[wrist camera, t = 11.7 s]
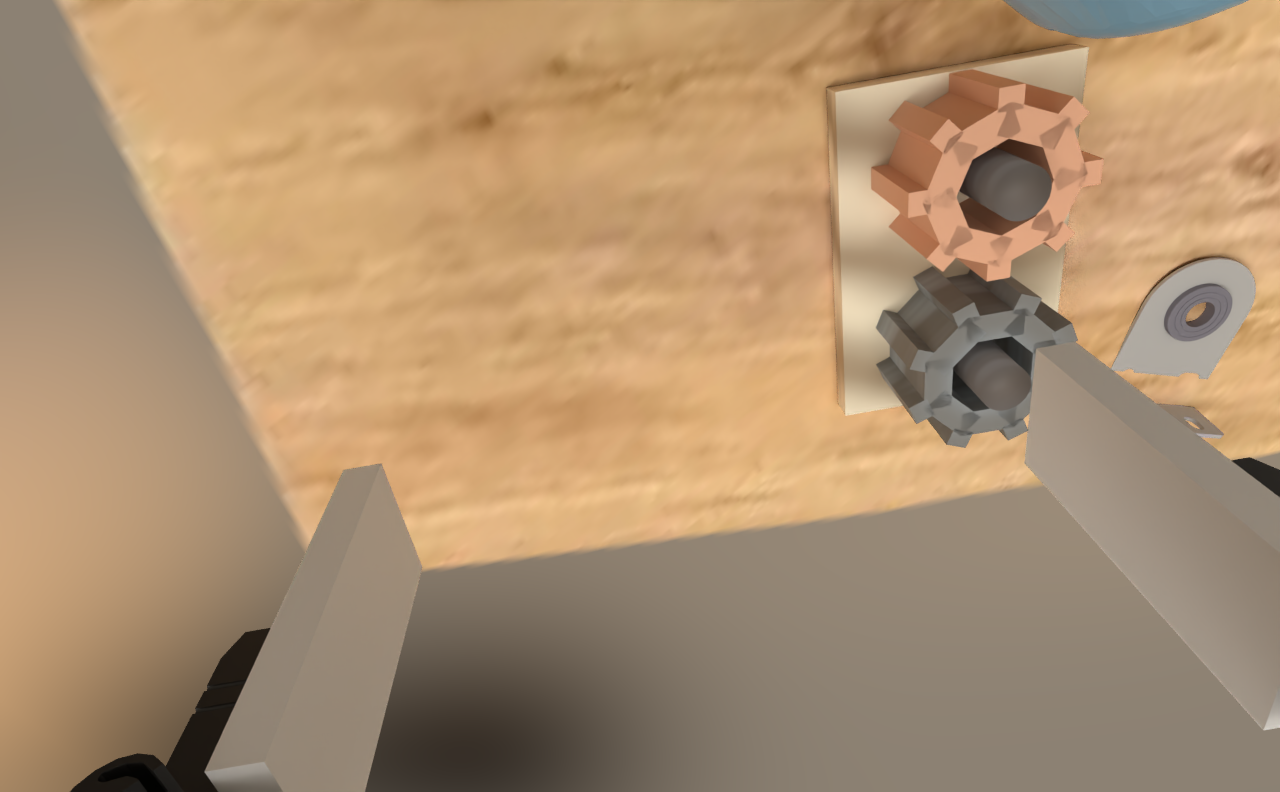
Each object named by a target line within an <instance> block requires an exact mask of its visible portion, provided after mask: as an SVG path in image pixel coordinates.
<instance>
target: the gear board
mask: <svg viewBox="0 0 1280 792" xmlns="http://www.w3.org/2000/svg"><path fill="white" fill-rule="evenodd" d="M1088 51H1089V47H1086V46H1080V45H1074V44H1069V45H1063V46H1058V47H1052V48H1046V49H1041V50H1035V51H1030V52H1024V53H1018V54H1013V55H1007V56H1001V57H996V58H990V59H985V60H979V61H973V62H968V63H962V64H957V65H951V66H945V67H940V68H934V69H929V70H923V71H917V72H912V73H906V74H901V75H895V76H889V77H884V78H878V79H873V80H867V81H861V82H856V83H850V84H844V85H839V86H833V87H828V88H827V116H828V143H829V170H830V198H831V225H832V252H833V280H834V307H835V334H836V362H837V389H838V404H839V405H840V407H841V409H842V411H843V412H844V414H845V416H846V415H852V414H858V413H864V412H870V411H876V410H881V409H887V408H893V407H899V406H904V407H905V409H906V410H907V411H908V413H909V414H910V415H911V417H912V418H913V420H914V421H915V422H916V424H917V423H919V422H921V421H923V420H925V419H927V420H928V421H929V422H930V424H931V425H932V426H933V427H934V429H935V430H936V431H937V433H938V434H939V435H940V437H941V438H942V439H943V440H944V442H945V443H946V444H947V445H952V446H958V447H964V448H966V446H967V444H968V442H969V440H970V438H971V436H972V434H977V433H983V432H989V431H995V430H999V431H1000V432H1001V433H1002V434H1003V435H1004V436H1005V437H1006V439H1007V440H1010V439H1012V438H1014V437H1016V436H1018V435H1020V434H1022V433H1024V432H1026V431H1028V429H1027V427H1026V424H1025V422H1024V420H1023V419H1024V418H1025V417H1026V416H1027V415H1028V414H1029V413H1030V404H1031V395H1032V385H1033V375H1034V365H1035V355H1036V349H1037V348H1042V347H1048V346H1054V345H1059V344H1065V343H1071V342H1076V341H1078V339H1077V336H1076V334H1075V331H1074V328H1073V325H1072V323H1071V322H1070V321H1068V320H1067V319H1065V318H1064V317H1063V316H1061V315H1060V314H1059V313H1058V306H1059V298H1060V289H1061V281H1062V272H1063V263H1064V255H1065V246H1066V243H1065V244H1064V245H1063V246H1062V247H1061V248H1060V249H1059V250H1058V251H1057V252H1056V251H1054V250H1053V249H1051V248H1049V247H1048V246H1046V245H1044V244H1043V243H1042V244H1040V245H1038V246H1037V247H1035V248H1033V249H1031V250H1029V251H1027V252H1026V253H1024V254H1022V255H1020V256H1018V257H1017V258H1015V259H1013V260H1011V272H1010V278H1004V279H998V280H992V281H985V280H984V279H983V278H982V277H980V276H979V275H978V274H976V273H975V272H974V271H973V270H971V269H970V268H969V267H967V266H966V265H965V264H964V263H962V262H961V261H960V260H958V259H957V258H955V259H954V260H953V261H952V262H951V264H950V265H949V266H948V267H947V268H946V269H945V270H944V271H943V272H942V271H941V270H940V269H939V268H937V267H936V266H935V265H934V264H932V263H931V262H930V261H929V260H927V259H926V258H925V257H924V256H923V255H921V254H920V253H919V252H918V251H917V250H915V249H914V248H913V247H912V246H911V245H910V244H908V243H907V242H906V241H905V240H904V239H902V238H901V237H900V236H899V235H898V234H897V233H895V232H894V231H893V230H892V229H891V228H889V226H890V224H891V223H892V222H893V221H894V220H895V219H896V217H897V216H898V215H899V214H900V212H899V210H898V209H896V208H895V207H894V206H892V205H891V204H890V203H888V202H887V201H886V200H885V199H883V198H882V197H881V196H879V195H878V194H877V193H875V192H874V191H873V190H872V189H871V167H876V166H881V165H887V164H888V163H889V160H890V158H891V155H892V153H893V150H894V147H895V145H896V142H897V139H898V137H899V134H900V132H901V131H900V130H899V129H898V128H897V127H896V126H894V125H893V124H892V123H891V122H890V121H889V119H890V118H891V117H892V115H893V114H894V113H895V112H896V111H897V109H898V108H899V107H900V106H901V104H902V103H903V102H904V101H907V102H909V103H912V104H914V105H916V106H919V107H921V108H923V107H925V106H927V105H928V104H930V103H932V102H933V101H935V100H937V99H938V98H940V97H942V96H943V95H945V94H946V93H948V92H949V73H954V72H959V71H965V70H971V69H974V70H977V71H981V72H985V73H989V74H992V75H996V76H1000V77H1003V78H1007V79H1011V80H1015V81H1018V82H1022V83H1026V84H1029V85H1033V86H1036V87H1040V88H1044V89H1048V90H1051V91H1055V92H1059V93H1063V94H1066V95H1070V96H1074V97H1075V98H1076V99H1077V100H1078V101H1079V102H1080V103H1081V104H1082V102H1083V93H1084V85H1085V76H1086V68H1087V59H1088ZM1079 127H1080V124H1079V125H1078V126H1077V127H1076V128H1075V129H1074V130H1075V133H1076V136H1077V140H1078V136H1079ZM1051 189H1052V182H1051V178H1050V176H1049V174H1048V172H1047V171H1046V170H1045V169H1044V168H1042V167H1040V166H1038V165H1036V164H1033V163H1031V162H1029V161H1026V160H1024V159H1022V158H1020V157H1017V156H1015V155H1013V154H1010V153H1008V152H1006V151H1004V150H1001V149H999V148H997V146H995V147H993V148H992V149H990V150H988V151H987V152H985V153H983V154H981V155H980V156H978V157H976V158H975V159H973V160H972V162H971V164H970V167H969V169H968V171H967V174H966V176H965V178H964V181H963V183H962V185H961V188H960V190H959V192H958V195H957V200H958V202H959V203H961V202H963V201H964V200H966V199H968V198H971V199H973V200H975V201H976V202H978V203H980V204H981V205H983V206H985V207H986V208H988V209H990V210H991V211H993V212H995V213H997V214H998V215H1000V216H1002V217H1003V218H1005V219H1007V220H1010V221H1023V220H1026V219H1029V218H1031V217H1033V216H1034V215H1036V214H1037V213H1038V212H1039V211H1040V210H1042V208H1043V207H1044V206H1045V204H1046V203H1047V201H1048V199H1049V197H1050V194H1051ZM1069 212H1070V211H1069ZM1068 221H1069V213H1068V215H1067V217H1066V219H1065V221H1064V223H1065V224H1066V225H1067V226H1068Z"/></svg>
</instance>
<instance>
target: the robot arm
mask: <svg viewBox="0 0 1280 792" xmlns="http://www.w3.org/2000/svg"><path fill="white" fill-rule="evenodd" d="M1003 1H1005V2H1006V3H1007V4H1008V5H1010V6H1011V7H1012V8H1014V9H1015V10H1016V11H1017V12H1019V13H1020V14H1021V15H1023V16H1024V17H1026V18H1027V19H1028V20H1030V21H1031V22H1033V23H1034V24H1036V25H1038V26H1041V27H1043V28H1046V29H1048V30H1055V31H1058V32H1062V33H1066V34H1069V35H1073V36H1076V37H1087V38H1095V39H1100V38H1117V37H1129V36H1136V35H1142V34H1148V33H1153V32H1158V31H1162V30H1166V29H1170V28H1174V27H1177V26H1181V25H1184V24H1188V23H1191V22H1194V21H1197V20H1200V19H1203V18H1206V17H1208V16H1211V15H1214V14H1216V13H1219V12H1221V11H1224V10H1226V9H1229V8H1232V7H1234V6H1237V5H1239V4H1242V3H1244V2H1246V1H1248V0H1003ZM1025 464H1026V465H1027V466H1028V468H1029V469H1030V470H1031V471H1032V472H1033V473H1034V474H1035V475H1036V476H1037V478H1038V479H1039V480H1040V481H1041V482H1042V483H1043V484H1044V485H1045V487H1046V488H1047V489H1048V490H1049V491H1050V492H1051V493H1052V494H1053V495H1054V497H1055V498H1056V499H1057V500H1058V501H1059V502H1060V503H1061V504H1062V505H1063V507H1064V508H1065V509H1066V510H1067V511H1068V512H1069V513H1070V514H1071V516H1072V517H1073V518H1074V519H1075V520H1076V521H1077V522H1078V523H1079V525H1080V526H1081V527H1082V528H1083V529H1084V530H1085V531H1086V532H1087V533H1088V534H1089V536H1090V537H1091V538H1092V539H1093V540H1094V541H1095V542H1096V543H1097V544H1098V546H1099V547H1100V548H1101V549H1102V550H1103V551H1104V552H1105V553H1106V555H1107V556H1108V557H1109V558H1110V559H1111V560H1112V561H1113V563H1114V564H1115V565H1116V566H1117V567H1118V568H1119V569H1120V570H1121V571H1122V573H1123V574H1124V575H1125V576H1126V577H1127V578H1128V579H1129V580H1130V582H1131V583H1132V584H1133V585H1134V586H1135V587H1136V588H1137V589H1138V590H1139V592H1140V593H1141V594H1142V595H1143V596H1144V597H1145V598H1146V599H1147V601H1148V602H1149V603H1150V604H1151V605H1152V606H1153V607H1154V608H1155V609H1156V611H1157V612H1158V613H1159V614H1160V615H1161V616H1162V617H1163V618H1164V620H1165V621H1166V622H1167V623H1168V624H1169V625H1170V626H1171V627H1172V629H1173V630H1174V631H1175V632H1176V633H1177V634H1178V635H1179V636H1180V637H1181V638H1182V640H1183V641H1184V642H1185V643H1186V644H1187V645H1188V646H1189V648H1190V649H1191V650H1193V652H1194V653H1195V654H1196V655H1197V656H1198V658H1199V659H1200V660H1201V661H1202V662H1203V663H1204V664H1205V665H1206V666H1207V668H1208V669H1209V670H1210V671H1211V672H1212V673H1213V674H1214V675H1215V677H1216V678H1217V679H1218V680H1219V681H1220V682H1221V683H1222V684H1223V686H1224V687H1225V688H1226V689H1227V690H1228V691H1229V692H1230V693H1231V694H1232V696H1233V697H1234V698H1235V699H1236V700H1237V701H1238V702H1239V703H1240V705H1242V707H1243V708H1244V709H1245V710H1246V711H1247V712H1248V713H1249V715H1250V716H1251V717H1252V718H1253V719H1254V720H1255V721H1256V722H1257V724H1258V725H1259V726H1260V727H1261V728H1262V729H1263V730H1268V729H1273V728H1280V470H1279V469H1276V468H1274V467H1271V466H1269V465H1267V464H1264V463H1262V462H1260V461H1257V460H1255V459H1252V458H1250V457H1249V458H1243V459H1238V460H1232V461H1231V460H1230V459H1228V458H1227V457H1226V456H1224V455H1223V454H1222V453H1221V452H1219V451H1218V450H1217V449H1215V448H1214V447H1213V446H1211V445H1210V444H1209V443H1207V442H1206V441H1205V440H1203V439H1202V438H1201V437H1200V436H1198V435H1197V434H1196V433H1194V432H1193V431H1192V430H1190V429H1189V428H1188V427H1186V426H1185V425H1184V424H1182V423H1181V422H1180V421H1178V420H1177V419H1176V418H1175V417H1173V416H1172V415H1171V414H1169V413H1168V412H1167V411H1165V410H1164V409H1163V408H1161V407H1160V406H1159V405H1157V404H1156V403H1155V402H1153V401H1152V400H1151V399H1150V398H1148V397H1147V396H1146V395H1144V394H1143V393H1142V392H1140V391H1139V390H1138V389H1136V388H1135V387H1134V386H1132V385H1131V384H1130V383H1129V382H1127V381H1126V380H1125V379H1123V378H1122V377H1121V376H1119V375H1118V374H1117V373H1115V372H1114V371H1113V370H1111V369H1110V368H1109V367H1107V366H1106V365H1105V364H1104V363H1102V362H1101V361H1100V360H1098V359H1097V358H1096V357H1094V356H1093V355H1092V354H1090V353H1089V352H1088V351H1086V350H1085V349H1084V348H1083V347H1081V346H1080V345H1079V344H1077V343H1076V342H1071V343H1065V344H1059V345H1054V346H1048V347H1042V348H1037V349H1036V355H1035V365H1034V375H1033V385H1032V395H1031V404H1030V414H1029V424H1028V434H1027V444H1026V454H1025ZM421 570H422V565H421V563H420V560H419V558H418V555H417V552H416V550H415V547H414V545H413V542H412V540H411V537H410V535H409V532H408V530H407V527H406V525H405V522H404V520H403V517H402V515H401V512H400V510H399V507H398V504H397V502H396V499H395V497H394V494H393V492H392V489H391V487H390V484H389V482H388V479H387V477H386V474H385V472H384V469H383V467H382V464H375V465H370V466H364V467H358V468H352V469H347V470H343V473H342V475H341V477H340V479H339V481H338V483H337V486H336V488H335V490H334V492H333V494H332V496H331V499H330V501H329V503H328V505H327V507H326V509H325V512H324V514H323V516H322V518H321V520H320V522H319V525H318V527H317V529H316V531H315V533H314V535H313V538H312V540H311V542H310V544H309V546H308V548H307V551H306V553H305V555H304V557H303V559H302V561H301V564H300V566H299V568H298V570H297V572H296V574H295V577H294V579H293V581H292V583H291V585H290V588H289V590H288V592H287V594H286V596H285V598H284V600H283V603H282V605H281V607H280V609H279V611H278V614H277V616H276V618H275V620H274V622H273V624H272V626H271V628H268V629H261V630H256V631H250V632H245V633H244V634H243V635H242V636H241V638H240V639H239V640H238V641H237V642H236V643H235V644H234V645H233V646H232V647H231V648H230V649H229V650H228V651H227V653H226V654H225V655H224V656H223V657H222V658H221V659H220V661H219V663H218V665H217V667H216V669H215V671H214V673H213V675H212V677H211V679H210V681H209V683H208V685H207V688H208V689H207V691H204V693H203V695H202V697H201V698H200V700H199V702H198V704H197V706H196V708H195V709H196V713H195V714H192V716H191V718H190V720H189V722H188V724H187V726H186V728H185V730H184V732H183V734H182V736H181V737H180V739H179V742H178V743H177V745H176V747H175V749H174V751H173V753H172V755H171V757H170V759H169V761H168V763H167V765H166V767H165V765H164V764H163V763H162V762H161V761H160V760H159V759H157V758H156V757H155V756H154V755H147V754H134V755H130V756H127V757H122V758H118V759H116V760H114V761H112V762H110V763H108V764H106V765H105V766H103V767H101V768H99V769H97V770H95V771H94V772H93V773H91V774H90V775H89V776H87V777H86V778H85V779H84V780H82V781H81V782H80V783H79V784H77V785H76V786H75V787H74V788H73V789H72V790H71V792H365V788H366V784H367V781H368V776H369V773H370V769H371V765H372V761H373V757H374V753H375V749H376V746H377V742H378V738H379V733H380V730H381V726H382V722H383V718H384V714H385V711H386V707H387V702H388V699H389V695H390V691H391V687H392V683H393V679H394V676H395V671H396V668H397V664H398V660H399V656H400V652H401V648H402V644H403V640H404V637H405V632H406V628H407V625H408V621H409V617H410V613H411V609H412V605H413V602H414V598H415V594H416V590H417V585H418V582H419V578H420V574H421Z"/></svg>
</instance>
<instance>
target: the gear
mask: <svg viewBox="0 0 1280 792" xmlns="http://www.w3.org/2000/svg"><path fill="white" fill-rule="evenodd" d="M1089 113H1090V112H1089V111H1088V110H1087V109H1086V108H1085V107H1084V106H1083V105H1082V104H1081V103H1080V102H1079V101H1078V100H1077V99H1076V98H1075V97H1074V96H1070V95H1066V94H1063V93H1059V92H1055V91H1051V90H1048V89H1044V88H1040V87H1036V86H1033V85H1029V84H1026V83H1022V82H1018V81H1015V80H1011V79H1007V78H1003V77H1000V76H996V75H992V74H989V73H985V72H981V71H977V70H974V69H971V70H965V71H959V72H954V73H949V92H948V93H946V94H945V95H943V96H942V97H940V98H938V99H937V100H935V101H933V102H932V103H930V104H928V105H927V106H925V107H923V108H921V107H919V106H916V105H914V104H912V103H909V102H907V101H904V102H903V103H902V104H901V106H900V107H899V108H898V109H897V111H896V112H895V113H894V114H893V115H892V117H891V118H890V119H889V121H890V122H891V123H892V124H893V125H894V126H896V127H897V128H898V129H899V130H900V131H901V132H900V134H899V137H898V139H897V142H896V145H895V147H894V150H893V153H892V155H891V158H890V160H889V163H888V164H887V165H881V166H876V167H871V189H872V190H873V191H874V192H875V193H877V194H878V195H879V196H881V197H882V198H883V199H885V200H886V201H887V202H888V203H890V204H891V205H892V206H894V207H895V208H896V209H898V210H899V212H900V214H899V215H898V216H897V217H896V219H895V220H894V221H893V222H892V223H891V224H890V226H889V228H891V229H892V230H893V231H894V232H895V233H897V234H898V235H899V236H900V237H901V238H902V239H904V240H905V241H906V242H907V243H908V244H910V245H911V246H912V247H913V248H914V249H915V250H917V251H918V252H919V253H920V254H921V255H923V256H924V257H925V258H926V259H927V260H929V261H930V262H931V263H932V264H934V265H935V266H936V267H937V268H939V269H940V270H941V271H942V272H943V271H944V270H945V269H946V268H947V267H948V266H949V265H950V264H951V262H952V261H953V260H954V259H955V258H957V259H958V260H960V261H961V262H962V263H964V264H965V265H966V266H967V267H969V268H970V269H971V270H973V271H974V272H975V273H976V274H978V275H979V276H980V277H982V278H983V279H984V280H985V281H992V280H998V279H1004V278H1010V272H1011V260H1013V259H1015V258H1017V257H1018V256H1020V255H1022V254H1024V253H1026V252H1027V251H1029V250H1031V249H1033V248H1035V247H1037V246H1038V245H1040V244H1042V243H1043V244H1044V245H1046V246H1048V247H1049V248H1051V249H1053V250H1054V251H1056V252H1057V251H1058V250H1059V249H1060V248H1061V247H1062V246H1063V245H1064V244H1065V243H1066V242H1067V241H1068V240H1069V239H1070V238H1071V237H1072V236H1073V235H1074V234H1075V232H1074V231H1073V230H1072V229H1071V228H1069V227H1068V226H1067V225H1066V224H1065V223H1064V221H1065V219H1066V217H1067V215H1068V213H1069V211H1070V209H1071V207H1072V205H1073V203H1074V201H1075V199H1076V197H1077V195H1078V193H1079V191H1080V189H1081V187H1086V186H1091V185H1097V184H1101V176H1102V169H1103V161H1104V159H1103V158H1100V157H1097V156H1095V155H1092V154H1089V153H1087V152H1084V151H1081V149H1080V146H1079V143H1078V140H1077V136H1076V133H1075V130H1074V129H1075V128H1076V127H1077V126H1078V125H1079V124H1080V123H1081V122H1082V121H1083V120H1084V119H1085V118H1086V116H1087V115H1088V114H1089ZM995 146H997V148H999V149H1001V150H1004V151H1006V152H1008V153H1010V154H1013V155H1015V156H1017V157H1020V158H1022V159H1024V160H1026V161H1029V162H1031V163H1033V164H1036V165H1038V166H1040V167H1042V168H1044V169H1045V170H1046V171H1047V172H1048V174H1049V176H1050V178H1051V182H1052V189H1051V194H1050V197H1049V199H1048V201H1047V203H1046V204H1045V206H1044V207H1043V208H1042V210H1040V211H1039V212H1038V213H1037V214H1036V215H1034V216H1033V217H1031V218H1029V219H1026V220H1023V221H1010V220H1007V219H1005V218H1003V217H1002V216H1000V215H998V214H997V213H995V212H993V211H991V210H990V209H988V208H986V207H985V206H983V205H981V204H980V203H978V202H976V201H975V200H973V199H971V198H968V199H966V200H964V201H963V202H961V203H959V202H958V200H957V195H958V192H959V190H960V188H961V185H962V183H963V181H964V178H965V176H966V174H967V171H968V169H969V167H970V164H971V162H972V160H973V159H975V158H976V157H978V156H980V155H981V154H983V153H985V152H987V151H988V150H990V149H992V148H993V147H995Z"/></svg>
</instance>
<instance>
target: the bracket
mask: <svg viewBox="0 0 1280 792" xmlns="http://www.w3.org/2000/svg"><path fill="white" fill-rule="evenodd" d="M1255 291H1256V287H1255V281H1254V277H1253V276H1252V274H1251V272H1250V271H1249V270H1248V269H1247V268H1246V267H1245V266H1244V265H1242V264H1241V263H1239V262H1237V261H1235V260H1232V259H1228V258H1220V257H1219V258H1207V259H1202V260H1198V261H1195V262H1192V263H1190V264H1187V265H1185V266H1183V267H1181V268H1179V269H1178V270H1176V271H1174V272H1173V273H1171V274H1170V275H1168V276H1167V277H1166V278H1164V279H1163V280H1162V281H1161V282H1160V283H1159V284H1158V285H1157V286H1156V287H1155V288H1154V289H1153V290H1152V291H1151V292H1150V294H1149V295H1148V296H1147V298H1146V299H1145V301H1144V302H1143V304H1142V306H1141V308H1140V309H1139V311H1138V313H1137V315H1136V317H1135V319H1134V321H1133V322H1132V324H1131V326H1130V329H1129V331H1128V333H1127V335H1126V337H1125V339H1124V342H1123V344H1122V346H1121V348H1120V350H1119V352H1118V355H1117V357H1116V359H1115V361H1114V363H1113V365H1112V368H1111V370H1113V371H1125V370H1127V369H1132V370H1134V372H1135V373H1146V374H1156V375H1167V376H1178V377H1179V376H1180V375H1181V374H1183V373H1197V374H1198V375H1199V379H1208V378H1209V376H1210V375H1211V373H1212V371H1213V370H1214V368H1215V367H1216V365H1217V363H1218V362H1219V360H1220V359H1221V357H1222V355H1223V354H1224V352H1225V351H1226V349H1227V347H1228V346H1229V344H1230V343H1231V341H1232V339H1233V338H1234V336H1235V335H1236V333H1237V331H1238V330H1239V328H1240V327H1241V325H1242V323H1243V322H1244V320H1245V319H1246V317H1247V315H1248V313H1249V312H1250V310H1251V307H1252V305H1253V302H1254V298H1255ZM1202 302H1206V308H1205V310H1204V312H1203V313H1202V315H1201V316H1200V317H1198V318H1197V319H1195V320H1193V321H1190V322H1186V320H1185V319H1186V315H1187V313H1188V312H1189V311H1190V309H1191V308H1193V307H1194V306H1195V305H1197V304H1199V303H1202ZM1157 405H1159V406H1160V407H1161V408H1163V409H1164V410H1165V411H1167V412H1168V413H1169V414H1171V415H1172V416H1173V417H1175V418H1176V419H1177V420H1178V421H1180V422H1181V423H1182V424H1184V425H1185V426H1186V427H1188V428H1189V429H1190V430H1192V431H1193V432H1194V433H1196V434H1197V435H1198V436H1200V437H1206V438H1222V436H1223V435H1224V434H1223V432H1221V431H1220V430H1219V429H1218V428H1217V427H1216V426H1215V425H1213V424H1212V423H1211V422H1210V421H1209V420H1208V419H1207V418H1205V417H1204V416H1203V415H1202V414H1201V413H1200V412H1199V411H1197V410H1196V409H1195V408H1194V407H1187V406H1181V405H1168V404H1157ZM1185 420H1187V421H1190V422H1192V423H1194V424H1195V425H1197V426H1198V427H1199V428H1200V429H1197V428H1194V427H1193V426H1191V425H1190V424H1189V423H1188V422H1187V421H1185Z"/></svg>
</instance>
